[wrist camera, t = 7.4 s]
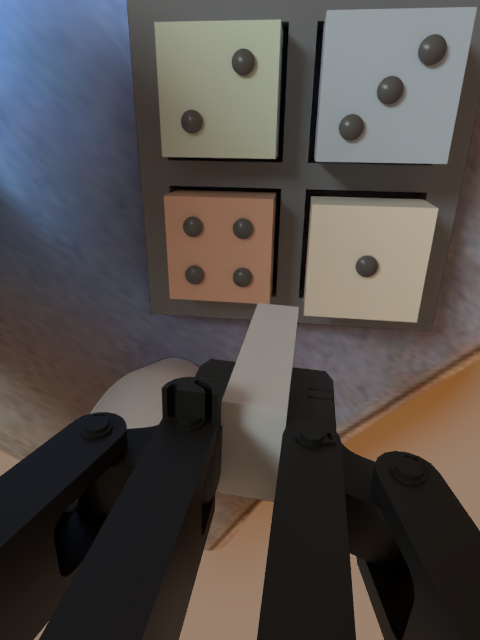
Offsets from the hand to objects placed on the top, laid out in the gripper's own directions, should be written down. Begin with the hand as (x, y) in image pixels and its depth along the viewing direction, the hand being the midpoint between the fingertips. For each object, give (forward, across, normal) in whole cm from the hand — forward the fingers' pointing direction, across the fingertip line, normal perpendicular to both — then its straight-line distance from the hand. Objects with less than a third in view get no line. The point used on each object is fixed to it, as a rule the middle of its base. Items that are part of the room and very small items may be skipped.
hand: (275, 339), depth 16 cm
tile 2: (+12, -4, +9) cm, 15 cm away
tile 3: (+11, +4, +9) cm, 14 cm away
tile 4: (+12, -4, +1) cm, 13 cm away
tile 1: (+11, +4, +1) cm, 12 cm away
